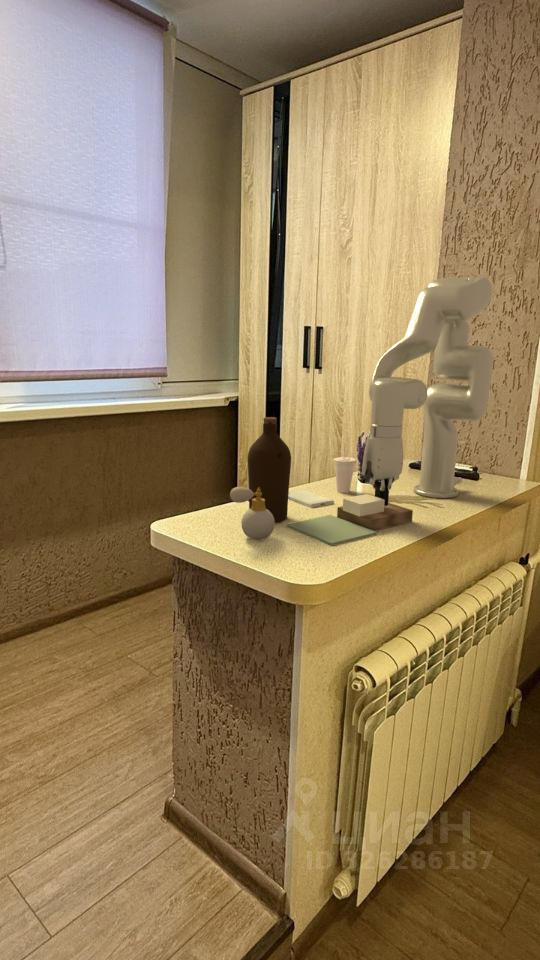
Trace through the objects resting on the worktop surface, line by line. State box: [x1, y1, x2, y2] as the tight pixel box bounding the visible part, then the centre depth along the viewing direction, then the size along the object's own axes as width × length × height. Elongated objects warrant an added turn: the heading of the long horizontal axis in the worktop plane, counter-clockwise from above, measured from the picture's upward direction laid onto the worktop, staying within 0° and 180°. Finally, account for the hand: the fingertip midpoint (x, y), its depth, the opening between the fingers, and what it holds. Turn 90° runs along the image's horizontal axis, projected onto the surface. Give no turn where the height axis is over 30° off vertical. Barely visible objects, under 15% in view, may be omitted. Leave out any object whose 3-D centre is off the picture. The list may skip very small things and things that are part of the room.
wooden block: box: [336, 502, 414, 532], centre depth 149 cm, size 14×12×3 cm
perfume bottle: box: [229, 486, 276, 541], centre depth 132 cm, size 8×10×12 cm
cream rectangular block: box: [342, 493, 385, 517], centre depth 146 cm, size 8×6×3 cm
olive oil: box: [246, 416, 292, 524], centre depth 146 cm, size 11×11×25 cm
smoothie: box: [333, 444, 357, 494], centre depth 174 cm, size 6×6×14 cm
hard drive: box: [288, 489, 335, 509], centre depth 166 cm, size 2×8×12 cm
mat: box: [285, 514, 378, 547], centre depth 140 cm, size 14×16×1 cm
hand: (381, 504), depth 149 cm, fingers closed
